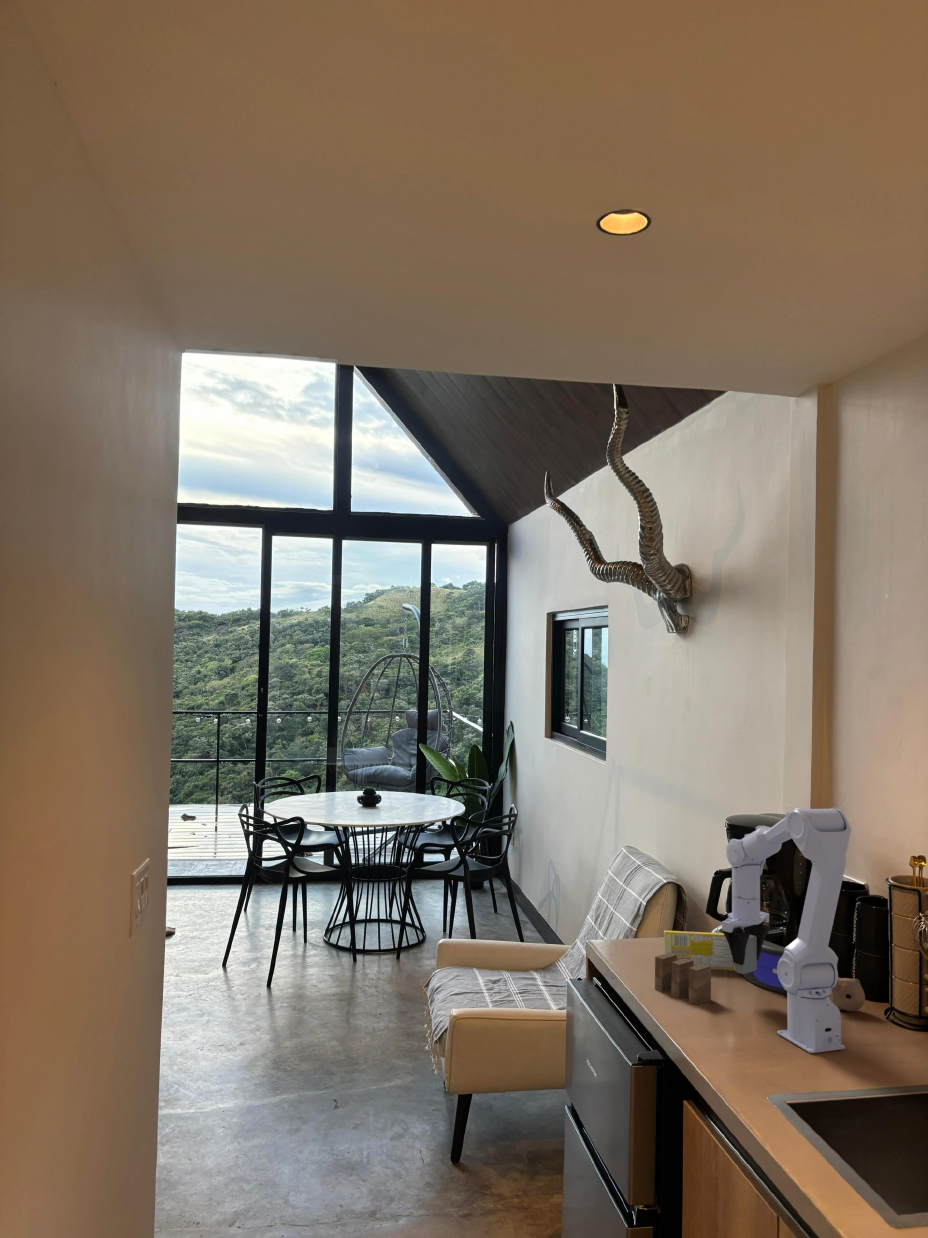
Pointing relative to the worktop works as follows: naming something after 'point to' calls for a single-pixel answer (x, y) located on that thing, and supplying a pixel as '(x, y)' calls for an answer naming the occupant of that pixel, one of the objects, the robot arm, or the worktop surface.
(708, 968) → the domino
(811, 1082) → the worktop surface
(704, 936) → the candy box
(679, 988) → the domino
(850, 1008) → the oil lamp
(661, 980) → the domino
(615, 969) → the worktop surface
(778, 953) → the dark grey curved shell
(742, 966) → the slate domino
